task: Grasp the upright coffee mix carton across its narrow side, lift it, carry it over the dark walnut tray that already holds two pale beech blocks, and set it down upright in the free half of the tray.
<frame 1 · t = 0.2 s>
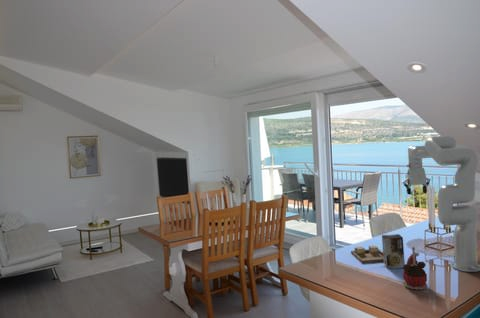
hand: (417, 193, 224), 31 cm above the kitchen counter, fingers open, 9 cm apart
coffee box: (394, 266, 191), on the kitchen counter
beech block B: (360, 254, 210), point 1 cm above the kitchen counter, touching tray
cake: (415, 287, 164), on the kitchen counter
beech block A: (373, 253, 210), point 1 cm above the kitchen counter, touching tray
tray: (370, 258, 204), on the kitchen counter
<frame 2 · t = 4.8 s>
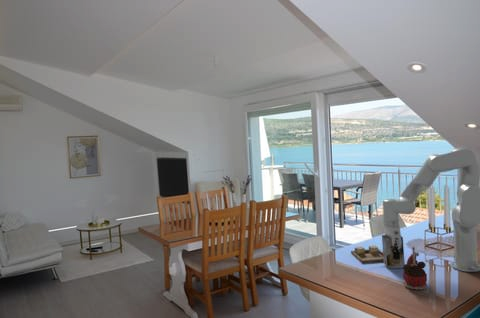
hand: (393, 256, 190), 5 cm above the kitchen counter, fingers closed on coffee box, 6 cm apart
coffee box: (394, 266, 191), on the kitchen counter, touching gripper
everything else where it was.
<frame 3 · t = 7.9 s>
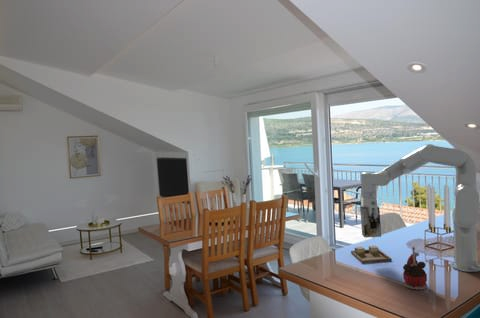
hand: (370, 226, 200), 19 cm above the kitchen counter, fingers closed on coffee box, 6 cm apart
coffee box: (371, 236, 200), point 14 cm above the kitchen counter, touching gripper
everything else where it was.
when the fingers open (8 cm above the kitchen counter, at t = 10.8 s): coffee box drops 1 cm, resting on tray.
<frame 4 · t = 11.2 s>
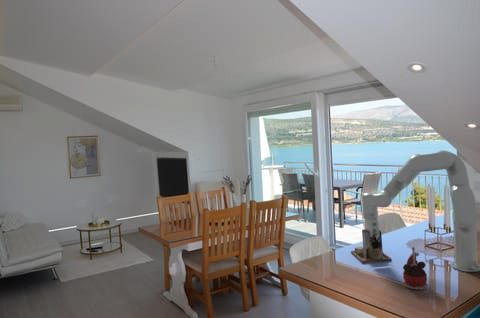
hand: (372, 246, 201), 8 cm above the kitchen counter, fingers open, 9 cm apart
coffee box: (373, 259, 201), point 1 cm above the kitchen counter, touching tray
everything else where it was.
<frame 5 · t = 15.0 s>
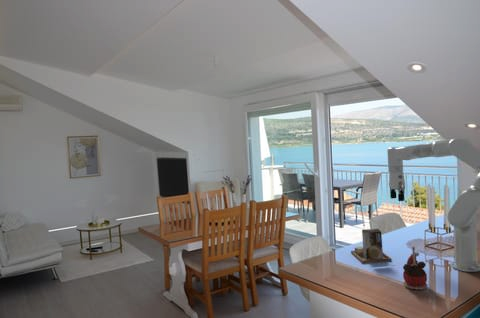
hand: (397, 199, 203), 32 cm above the kitchen counter, fingers open, 9 cm apart
nothing on the kitchen counter moved.
at the end: coffee box inside the target area on the tray (3.6 cm from its centre), point 0.8 cm above the tray's base; coffee box tilted 0°; the gripper is holding nothing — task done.
